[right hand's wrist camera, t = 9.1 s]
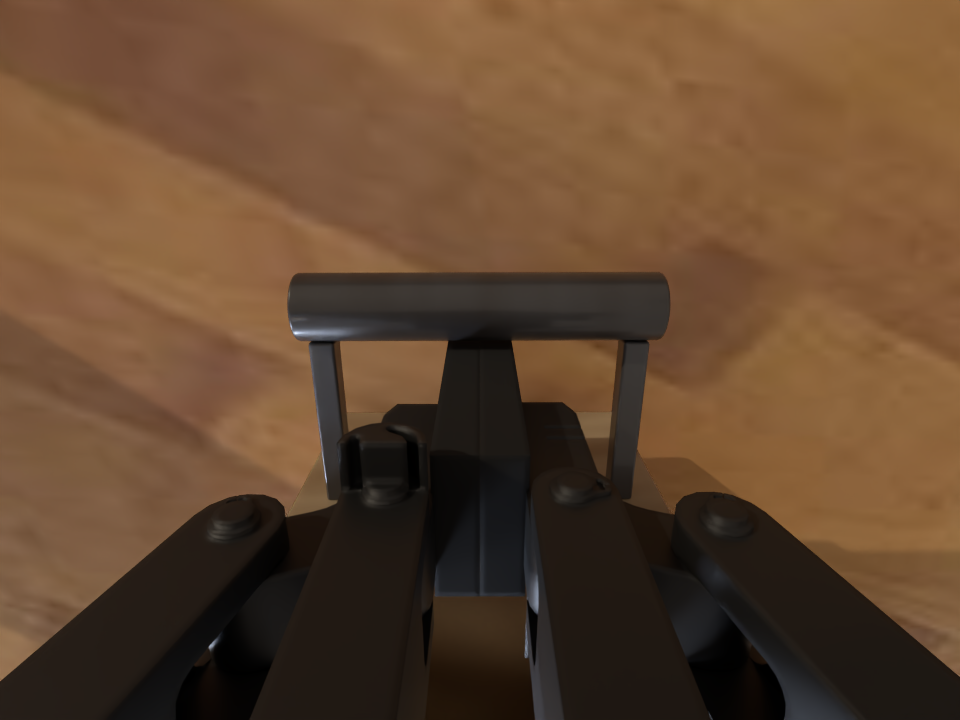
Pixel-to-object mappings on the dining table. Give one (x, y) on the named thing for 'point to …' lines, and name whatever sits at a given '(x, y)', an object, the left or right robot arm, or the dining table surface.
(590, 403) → the dining table surface
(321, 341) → the drawer
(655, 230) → the dining table surface
